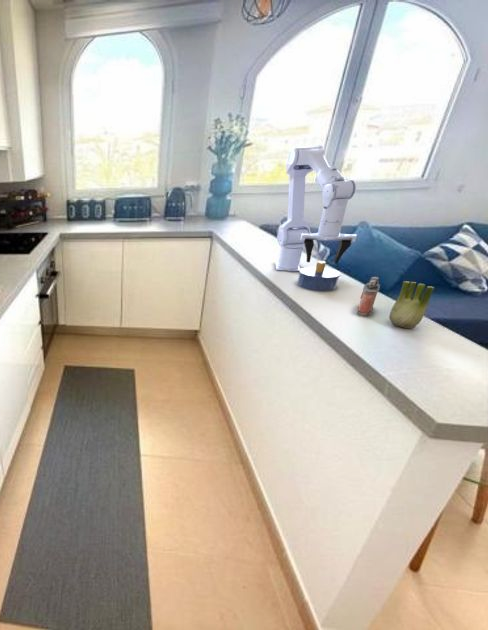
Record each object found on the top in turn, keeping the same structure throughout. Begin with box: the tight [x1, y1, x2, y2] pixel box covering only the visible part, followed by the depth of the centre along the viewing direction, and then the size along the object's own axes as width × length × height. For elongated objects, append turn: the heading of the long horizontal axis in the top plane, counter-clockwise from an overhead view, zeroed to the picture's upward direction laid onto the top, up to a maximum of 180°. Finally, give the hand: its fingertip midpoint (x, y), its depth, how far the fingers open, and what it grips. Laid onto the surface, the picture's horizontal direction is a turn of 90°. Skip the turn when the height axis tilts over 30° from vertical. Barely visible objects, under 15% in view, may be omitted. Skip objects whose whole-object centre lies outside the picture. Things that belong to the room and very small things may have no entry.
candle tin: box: [297, 272, 339, 292], centre depth 118 cm, size 11×11×4 cm
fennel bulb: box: [388, 280, 435, 329], centre depth 87 cm, size 6×5×12 cm
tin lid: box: [298, 260, 341, 279], centre depth 116 cm, size 12×12×5 cm
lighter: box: [355, 276, 381, 317], centre depth 97 cm, size 8×3×10 cm, turn 135°
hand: (321, 262), depth 115 cm, fingers open, 7 cm apart
